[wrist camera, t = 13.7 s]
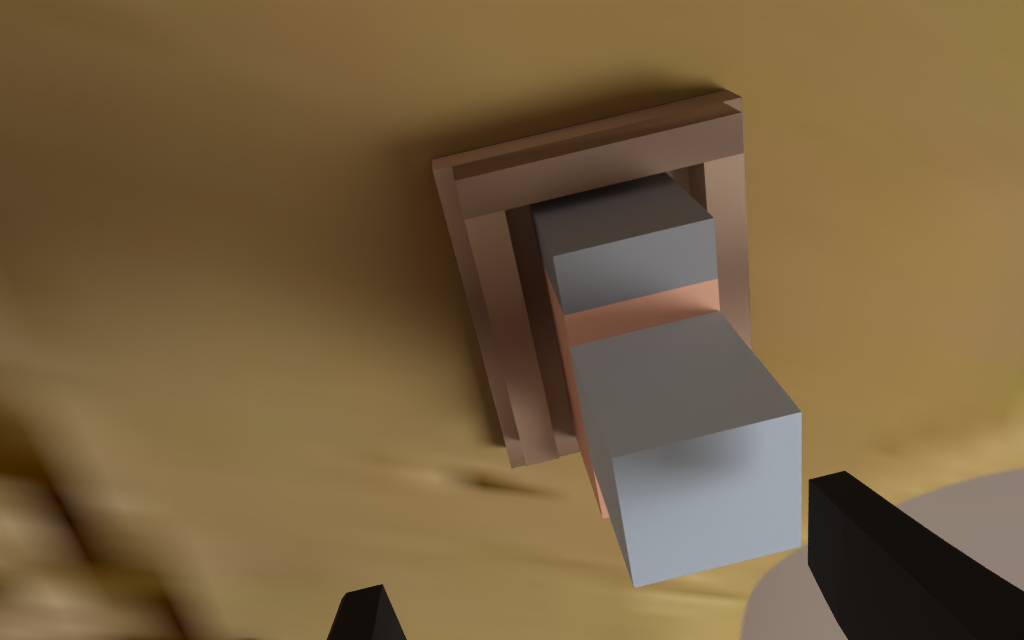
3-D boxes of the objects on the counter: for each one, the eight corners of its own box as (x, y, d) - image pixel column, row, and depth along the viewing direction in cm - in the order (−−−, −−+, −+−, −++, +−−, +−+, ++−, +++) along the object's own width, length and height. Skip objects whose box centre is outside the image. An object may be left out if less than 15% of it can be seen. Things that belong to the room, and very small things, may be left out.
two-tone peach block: (686, 410, 22) (731, 487, 19) (575, 437, 22) (602, 519, 19) (662, 169, 18) (714, 217, 15) (528, 201, 18) (552, 256, 15)
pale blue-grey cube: (726, 429, 18) (801, 546, 15) (591, 462, 18) (633, 588, 15) (719, 310, 17) (801, 411, 13) (569, 347, 16) (611, 458, 13)
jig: (741, 391, 24) (770, 432, 22) (507, 448, 24) (516, 493, 22) (726, 89, 19) (762, 107, 17) (431, 159, 19) (433, 185, 17)
